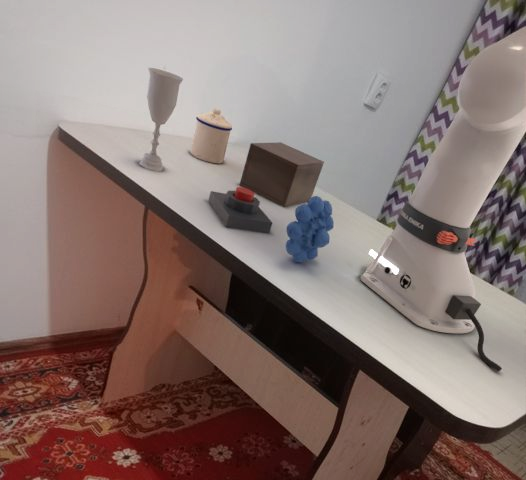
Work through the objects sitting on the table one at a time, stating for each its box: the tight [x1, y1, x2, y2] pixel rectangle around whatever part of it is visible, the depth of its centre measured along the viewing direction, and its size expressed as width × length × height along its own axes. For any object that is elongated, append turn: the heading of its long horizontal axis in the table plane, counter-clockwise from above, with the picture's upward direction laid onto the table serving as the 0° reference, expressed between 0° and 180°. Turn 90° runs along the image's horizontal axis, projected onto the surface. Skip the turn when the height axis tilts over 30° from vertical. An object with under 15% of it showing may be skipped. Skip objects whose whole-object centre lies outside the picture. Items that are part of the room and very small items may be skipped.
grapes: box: [285, 195, 334, 264], centre depth 77 cm, size 12×7×12 cm, turn 136°
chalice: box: [139, 67, 184, 172], centre depth 95 cm, size 7×7×18 cm
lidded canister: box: [190, 107, 233, 164], centre depth 117 cm, size 12×9×12 cm
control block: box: [208, 190, 273, 234], centre depth 89 cm, size 12×9×4 cm
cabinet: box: [239, 141, 325, 208], centre depth 109 cm, size 15×13×10 cm
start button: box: [234, 186, 255, 202], centre depth 88 cm, size 4×4×2 cm
